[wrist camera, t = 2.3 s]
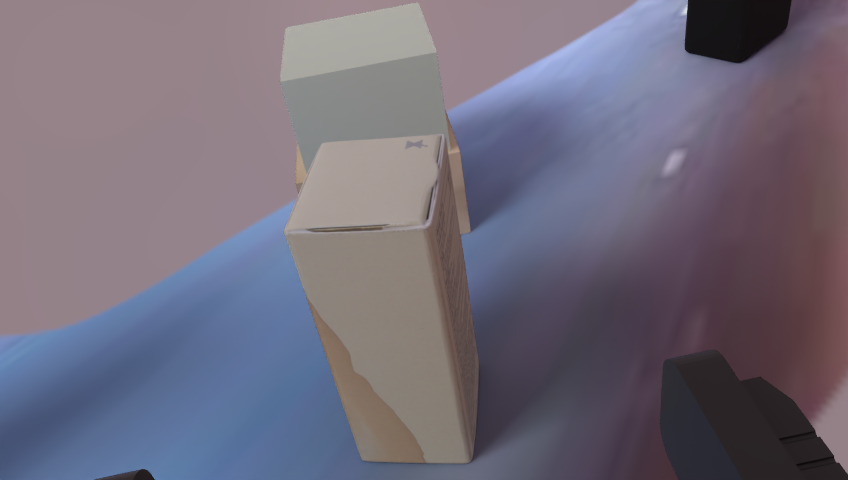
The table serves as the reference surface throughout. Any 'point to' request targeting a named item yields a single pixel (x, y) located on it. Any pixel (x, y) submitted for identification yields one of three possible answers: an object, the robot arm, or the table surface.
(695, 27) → the battery
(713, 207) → the table surface
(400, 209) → the box
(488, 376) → the table surface
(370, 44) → the tower top
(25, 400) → the table surface
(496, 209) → the table surface
